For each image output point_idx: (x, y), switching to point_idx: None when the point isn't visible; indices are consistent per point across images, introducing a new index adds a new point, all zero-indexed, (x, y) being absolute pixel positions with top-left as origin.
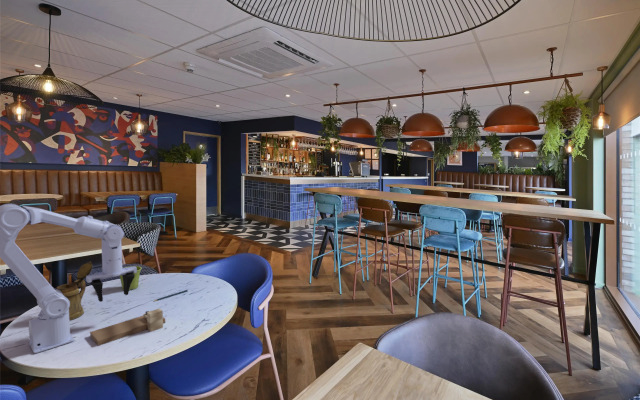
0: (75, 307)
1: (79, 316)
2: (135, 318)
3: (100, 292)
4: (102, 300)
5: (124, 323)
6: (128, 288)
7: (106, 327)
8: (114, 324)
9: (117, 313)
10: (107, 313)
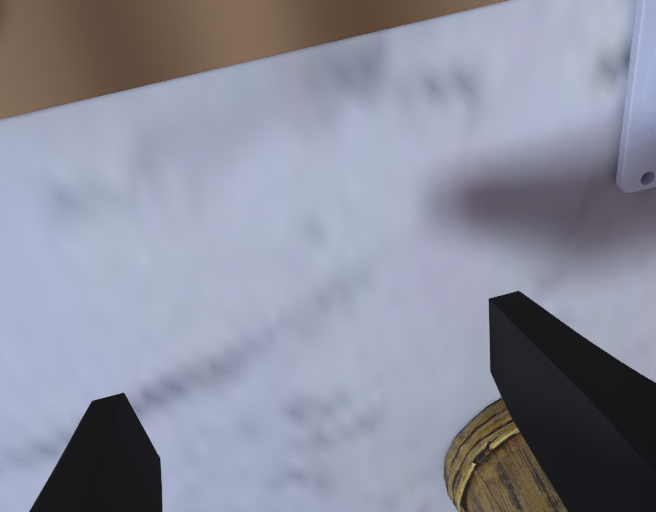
0: (536, 477)
1: (481, 413)
2: (41, 90)
3: (631, 401)
4: (498, 304)
5: (174, 8)
6: (48, 503)
7: (372, 17)
8: (285, 52)
9: (232, 368)
10: (304, 396)
